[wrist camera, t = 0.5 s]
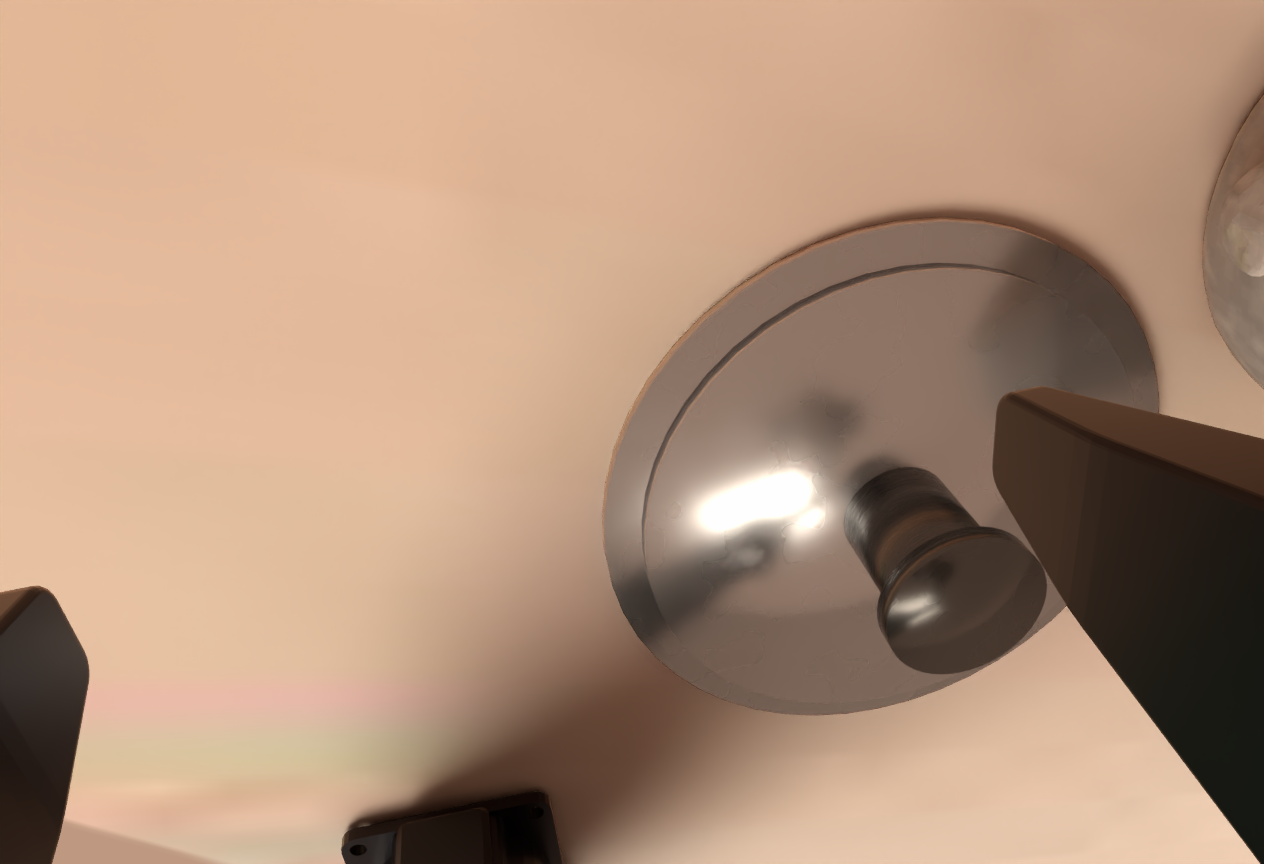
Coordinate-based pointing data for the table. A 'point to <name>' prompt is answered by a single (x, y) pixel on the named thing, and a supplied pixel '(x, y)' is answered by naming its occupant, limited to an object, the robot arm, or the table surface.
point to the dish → (1239, 247)
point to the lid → (855, 464)
